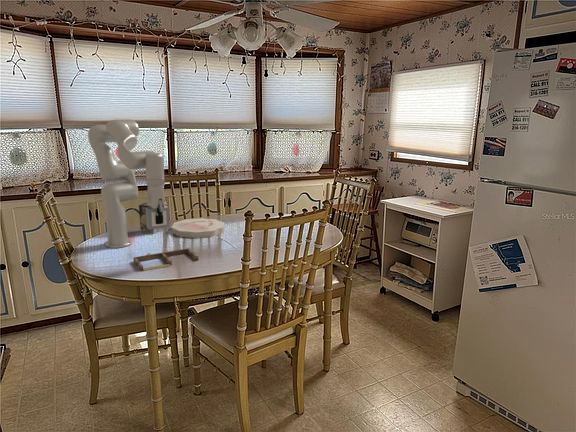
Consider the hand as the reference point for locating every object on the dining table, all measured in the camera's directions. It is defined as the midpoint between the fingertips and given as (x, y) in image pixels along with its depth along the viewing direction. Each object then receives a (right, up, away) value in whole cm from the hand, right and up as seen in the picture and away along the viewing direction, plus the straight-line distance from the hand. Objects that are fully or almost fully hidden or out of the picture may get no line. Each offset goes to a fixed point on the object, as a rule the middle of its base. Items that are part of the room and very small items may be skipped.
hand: (157, 222), depth 180 cm
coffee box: (-21, -7, +51) cm, 55 cm away
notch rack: (+2, -18, +6) cm, 19 cm away
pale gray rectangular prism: (0, -2, +1) cm, 2 cm away
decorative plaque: (+6, -6, +56) cm, 57 cm away
